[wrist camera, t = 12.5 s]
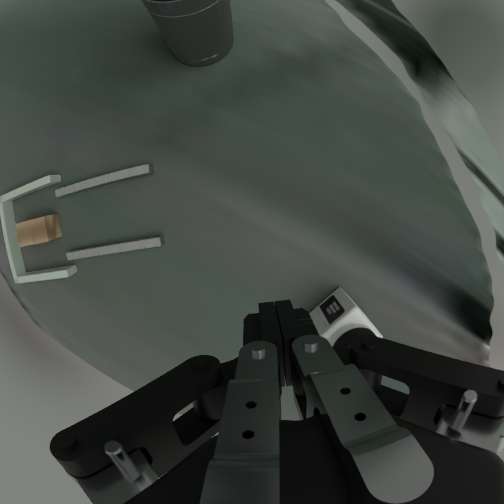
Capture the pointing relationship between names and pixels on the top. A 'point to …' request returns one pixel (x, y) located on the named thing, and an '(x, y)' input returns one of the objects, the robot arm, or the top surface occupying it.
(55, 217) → the tan cube
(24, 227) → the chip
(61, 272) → the frame
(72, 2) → the top surface
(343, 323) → the container
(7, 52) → the top surface
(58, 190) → the slot rails
